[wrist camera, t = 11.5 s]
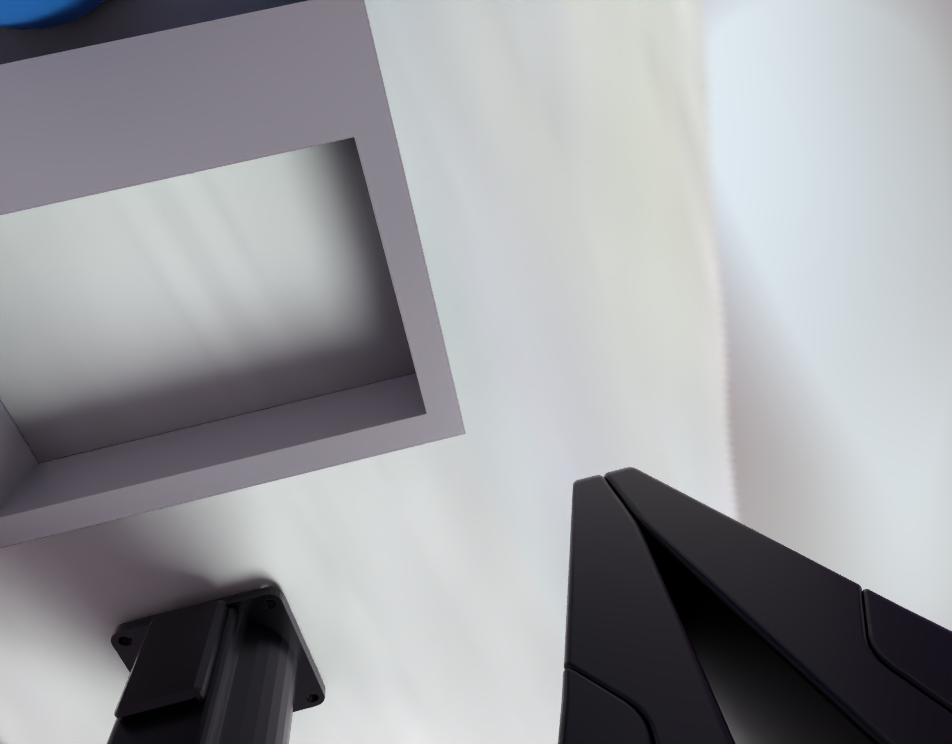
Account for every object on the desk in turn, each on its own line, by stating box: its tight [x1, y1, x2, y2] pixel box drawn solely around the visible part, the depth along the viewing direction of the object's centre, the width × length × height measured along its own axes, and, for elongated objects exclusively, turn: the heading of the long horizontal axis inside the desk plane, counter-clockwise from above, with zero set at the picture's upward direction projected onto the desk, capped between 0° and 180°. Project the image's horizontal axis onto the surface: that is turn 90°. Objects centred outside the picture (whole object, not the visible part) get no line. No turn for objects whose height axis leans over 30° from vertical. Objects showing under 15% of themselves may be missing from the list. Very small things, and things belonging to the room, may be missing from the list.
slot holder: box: [0, 0, 466, 548], centre depth 16 cm, size 21×15×4 cm
